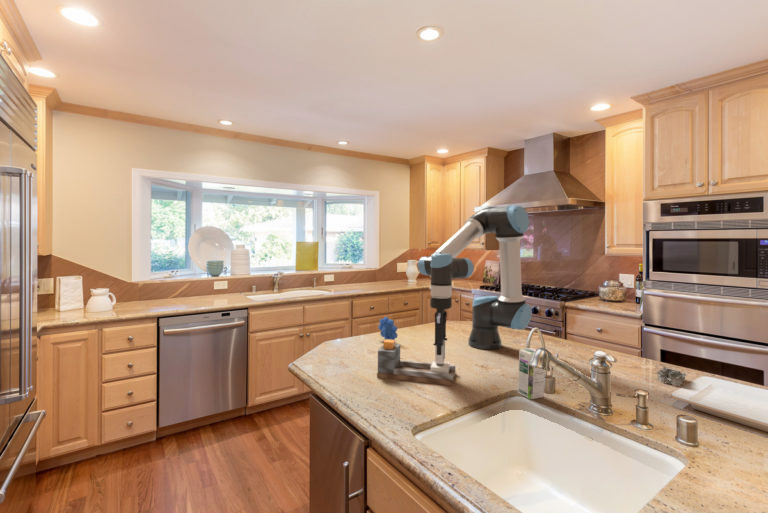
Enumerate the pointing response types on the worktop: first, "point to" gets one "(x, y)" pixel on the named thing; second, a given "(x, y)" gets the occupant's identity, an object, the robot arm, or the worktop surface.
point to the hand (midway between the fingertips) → (440, 360)
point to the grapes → (388, 329)
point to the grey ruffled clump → (671, 376)
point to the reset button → (389, 344)
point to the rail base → (409, 369)
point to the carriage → (440, 365)
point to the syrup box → (529, 376)
